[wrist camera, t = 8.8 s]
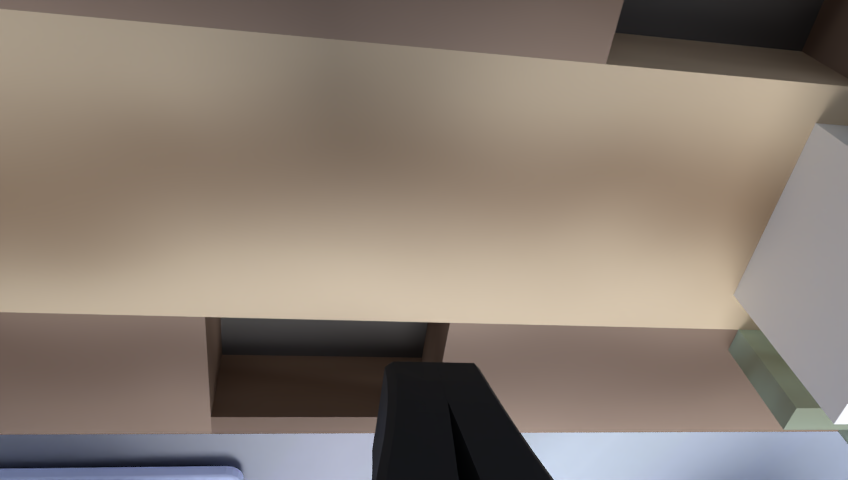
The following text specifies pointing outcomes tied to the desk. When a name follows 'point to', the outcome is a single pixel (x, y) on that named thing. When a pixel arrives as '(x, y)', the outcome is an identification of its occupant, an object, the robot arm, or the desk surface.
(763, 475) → the desk surface
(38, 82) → the trap board
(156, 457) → the desk surface
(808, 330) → the white block
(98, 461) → the desk surface
